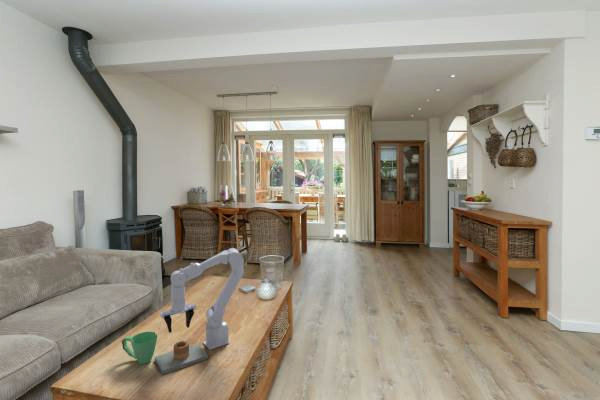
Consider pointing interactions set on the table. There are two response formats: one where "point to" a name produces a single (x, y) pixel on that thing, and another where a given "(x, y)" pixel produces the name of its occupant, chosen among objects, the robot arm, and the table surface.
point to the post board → (170, 364)
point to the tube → (181, 350)
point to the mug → (141, 346)
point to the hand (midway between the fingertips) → (178, 329)
